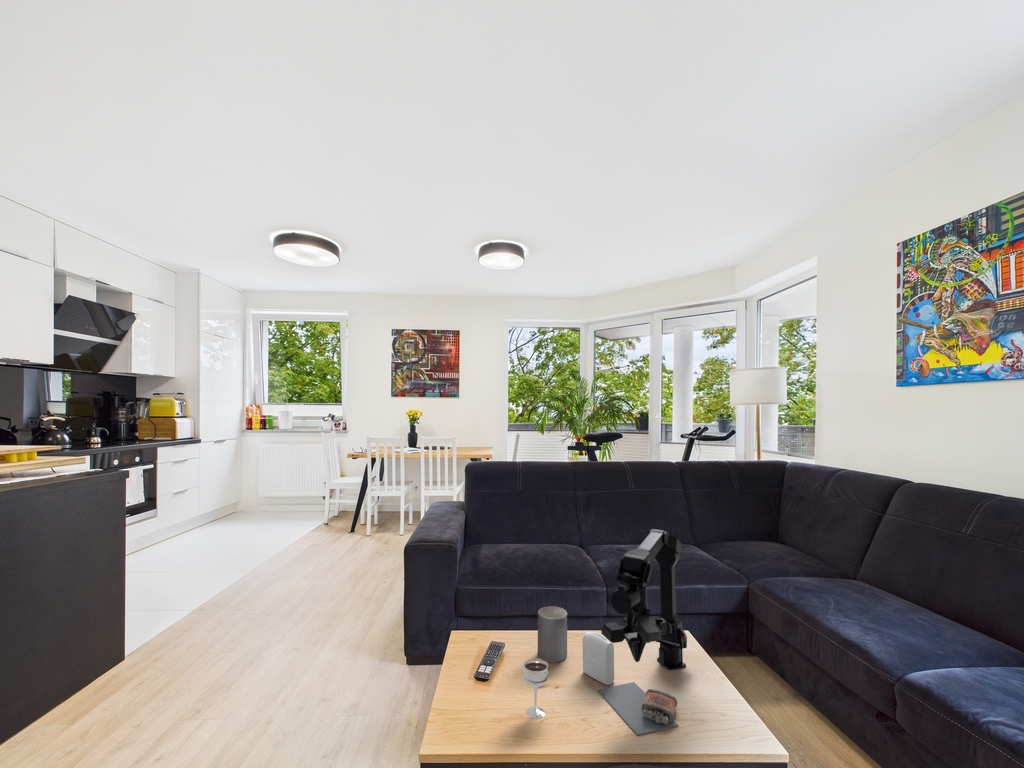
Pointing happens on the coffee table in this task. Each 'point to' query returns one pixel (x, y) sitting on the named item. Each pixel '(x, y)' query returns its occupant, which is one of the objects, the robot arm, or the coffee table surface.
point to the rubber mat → (632, 707)
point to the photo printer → (598, 657)
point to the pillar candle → (552, 634)
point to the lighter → (659, 706)
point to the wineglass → (535, 682)
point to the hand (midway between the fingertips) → (636, 661)
